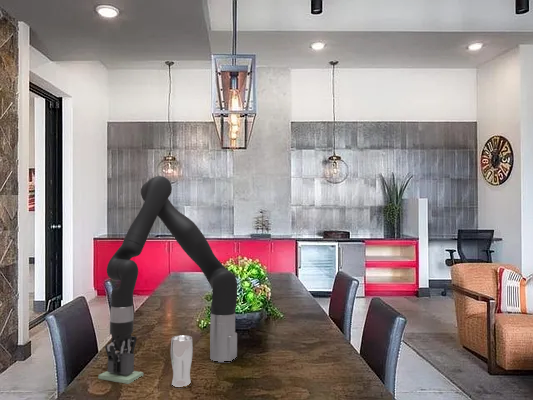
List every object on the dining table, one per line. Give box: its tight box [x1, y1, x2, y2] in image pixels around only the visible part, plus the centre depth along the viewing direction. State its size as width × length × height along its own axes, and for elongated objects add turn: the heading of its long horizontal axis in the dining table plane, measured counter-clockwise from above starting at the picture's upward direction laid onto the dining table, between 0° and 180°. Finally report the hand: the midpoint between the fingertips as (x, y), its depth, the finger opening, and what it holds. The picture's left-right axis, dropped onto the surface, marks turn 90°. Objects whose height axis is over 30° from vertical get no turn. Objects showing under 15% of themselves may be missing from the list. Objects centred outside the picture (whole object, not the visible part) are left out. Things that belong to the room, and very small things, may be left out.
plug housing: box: [107, 351, 135, 375], centre depth 165 cm, size 8×4×6 cm, turn 68°
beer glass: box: [170, 334, 194, 387], centre depth 158 cm, size 7×7×15 cm
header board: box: [97, 370, 144, 385], centre depth 165 cm, size 12×8×5 cm, turn 68°
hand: (121, 370), depth 165 cm, fingers closed on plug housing, 3 cm apart
